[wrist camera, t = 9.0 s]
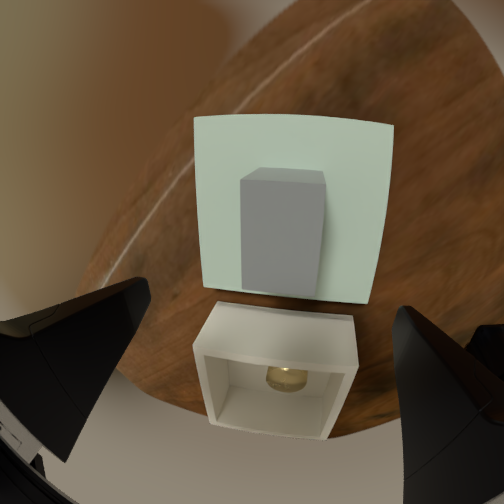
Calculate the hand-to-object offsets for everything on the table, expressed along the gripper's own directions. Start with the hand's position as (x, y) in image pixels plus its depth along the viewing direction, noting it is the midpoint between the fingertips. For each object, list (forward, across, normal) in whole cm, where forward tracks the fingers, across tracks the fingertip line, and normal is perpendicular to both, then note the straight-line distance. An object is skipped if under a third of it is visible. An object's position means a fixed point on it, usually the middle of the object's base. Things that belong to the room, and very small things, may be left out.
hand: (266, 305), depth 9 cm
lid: (+12, 0, 0) cm, 12 cm away
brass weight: (+11, -1, +14) cm, 18 cm away
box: (+12, 0, +15) cm, 19 cm away
